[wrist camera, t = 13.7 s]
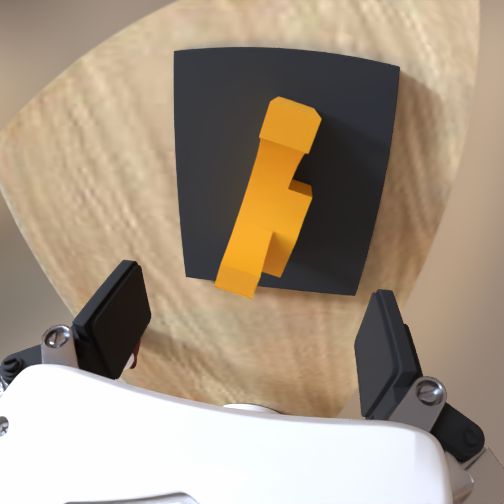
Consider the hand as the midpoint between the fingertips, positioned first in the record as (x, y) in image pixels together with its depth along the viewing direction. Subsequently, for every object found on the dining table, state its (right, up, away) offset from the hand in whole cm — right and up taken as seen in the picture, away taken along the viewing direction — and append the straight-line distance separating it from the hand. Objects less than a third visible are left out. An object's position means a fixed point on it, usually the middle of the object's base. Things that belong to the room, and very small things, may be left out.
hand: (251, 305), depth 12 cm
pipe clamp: (+2, +7, +10) cm, 13 cm away
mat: (+2, +8, +11) cm, 14 cm away
